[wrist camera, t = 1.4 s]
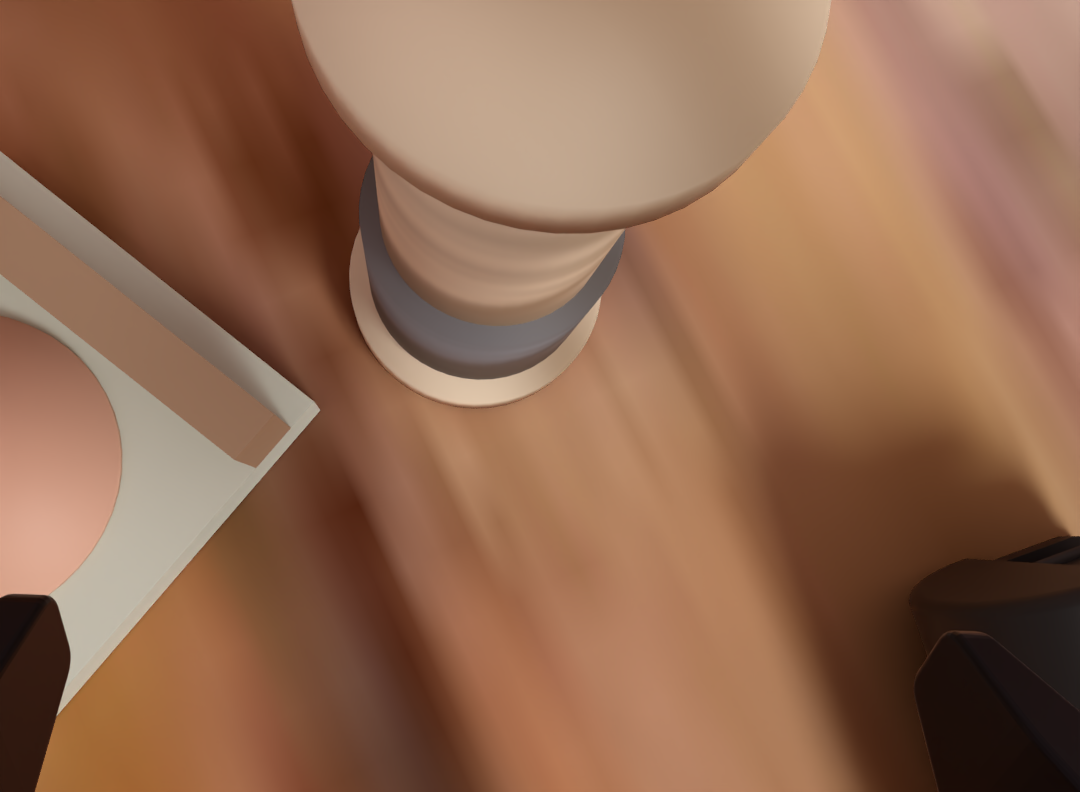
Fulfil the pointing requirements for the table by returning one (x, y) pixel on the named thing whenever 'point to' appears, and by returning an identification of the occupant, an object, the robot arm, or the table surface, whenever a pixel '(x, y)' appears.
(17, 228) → the cream cradle stand
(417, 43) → the bobbin
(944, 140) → the table surface
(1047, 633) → the end cap
